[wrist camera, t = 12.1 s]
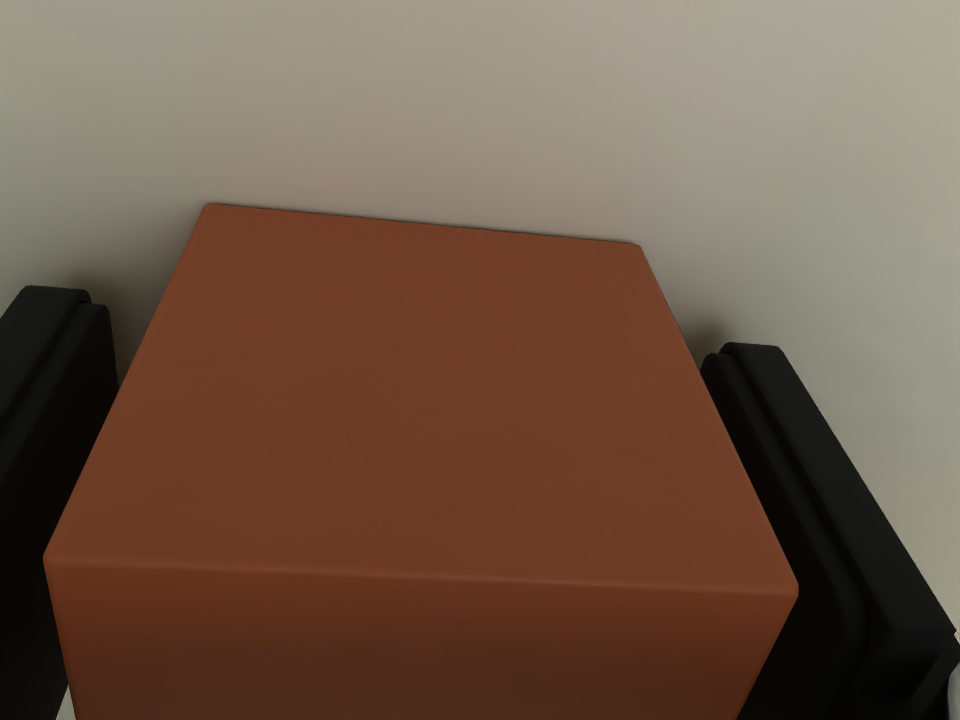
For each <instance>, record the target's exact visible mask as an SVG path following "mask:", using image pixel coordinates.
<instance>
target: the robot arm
mask: <svg viewBox="0 0 960 720" xmlns="http://www.w3.org/2000/svg"><path fill="white" fill-rule="evenodd" d="M699 372H700V375H701V377H702V379H703V381H704V383H705V385H706V387H707V390H708V392H709V394H710V396H711V398H712V400H713V402H714V405H715V407H716V409H717V411H718V413H719V415H720V417H721V419H722V422H723V424H724V426H725V428H726V430H727V432H728V434H729V437H730V439H731V441H732V443H733V445H734V447H735V449H736V452H737V454H738V456H739V458H740V460H741V462H742V464H743V467H744V469H745V471H746V473H747V475H748V477H749V479H750V482H751V484H752V486H753V488H754V490H755V492H756V494H757V497H758V499H759V501H760V503H761V505H762V507H763V509H764V511H765V514H766V516H767V518H768V520H769V522H770V524H771V526H772V529H773V531H774V533H775V535H776V537H777V539H778V541H779V544H780V546H781V548H782V550H783V552H784V554H785V556H786V559H787V561H788V563H789V565H790V567H791V569H792V571H793V574H794V576H795V578H796V580H797V582H798V588H799V593H798V598H797V600H796V602H795V604H794V606H793V608H792V609H791V611H790V613H789V615H788V617H787V619H786V621H785V623H784V625H783V627H782V629H781V631H780V633H779V635H778V637H777V639H776V641H775V643H774V645H773V647H772V649H771V651H770V653H769V655H768V657H767V659H766V661H765V663H764V665H763V667H762V669H761V671H760V673H759V675H758V677H757V679H756V681H755V683H754V685H753V687H752V689H751V691H750V693H749V695H748V697H747V699H746V701H745V703H744V705H743V707H742V709H741V711H740V713H739V714H738V716H737V718H736V720H960V644H959V643H958V641H957V639H956V638H955V636H954V634H955V632H956V631H957V630H956V629H955V627H954V626H953V624H952V622H951V621H950V619H949V618H948V616H947V614H946V613H945V611H944V610H943V608H942V606H941V605H940V603H939V602H938V600H937V598H936V597H935V595H934V594H933V592H932V590H931V589H930V587H929V586H928V584H927V582H926V581H925V579H924V578H923V576H922V574H921V573H920V571H919V569H918V568H917V566H916V565H915V563H914V561H913V560H912V558H911V557H910V555H909V553H908V552H907V550H906V549H905V547H904V545H903V544H902V542H901V541H900V539H899V537H898V536H897V534H896V533H895V531H894V529H893V528H892V526H891V525H890V523H889V521H888V520H887V518H886V517H885V515H884V513H883V512H882V510H881V509H880V507H879V505H878V504H877V502H876V501H875V499H874V497H873V496H872V494H871V492H870V491H869V489H868V488H867V486H866V484H865V483H864V481H863V480H862V478H861V476H860V475H859V473H858V472H857V470H856V468H855V467H854V465H853V464H852V462H851V460H850V459H849V457H848V456H847V454H846V452H845V451H844V449H843V448H842V446H841V444H840V443H839V441H838V440H837V438H836V436H835V435H834V433H833V432H832V430H831V428H830V427H829V425H828V423H827V422H826V420H825V419H824V417H823V415H822V414H821V412H820V411H819V409H818V407H817V406H816V404H815V403H814V401H813V399H812V398H811V396H810V395H809V393H808V391H807V390H806V388H805V387H804V385H803V383H802V382H801V380H800V379H799V377H798V375H797V374H796V372H795V371H794V369H793V367H792V366H791V364H790V363H789V361H788V359H787V358H786V356H785V355H784V353H783V351H782V350H781V349H780V348H779V347H777V346H772V345H760V344H748V343H735V342H728V343H726V344H724V346H723V347H722V348H721V349H720V351H719V353H718V354H717V353H710V354H708V355H707V356H706V357H705V359H704V361H703V363H702V366H701V368H700V371H699ZM118 392H119V386H118V377H117V369H116V361H115V352H114V344H113V335H112V327H111V319H110V313H109V310H108V308H107V307H106V306H105V305H100V304H92V300H91V298H90V295H89V293H88V292H87V291H86V290H84V289H71V288H59V287H47V286H34V285H29V286H25V287H24V288H23V289H22V290H21V291H20V292H19V294H18V295H17V297H16V298H15V299H14V301H13V302H12V303H11V305H10V306H9V308H8V309H7V310H6V312H5V313H4V314H3V316H2V317H1V318H0V720H55V719H56V717H57V714H58V711H59V709H60V706H61V703H62V700H63V698H64V695H65V692H66V690H67V687H68V679H67V674H66V669H65V664H64V660H63V655H62V650H61V645H60V640H59V636H58V631H57V626H56V621H55V616H54V611H53V607H52V602H51V597H50V592H49V587H48V583H47V578H46V573H45V568H44V563H43V555H44V553H45V550H46V548H47V546H48V544H49V542H50V539H51V537H52V535H53V533H54V531H55V528H56V526H57V524H58V522H59V520H60V518H61V515H62V513H63V511H64V509H65V507H66V505H67V502H68V500H69V498H70V496H71V494H72V492H73V489H74V487H75V485H76V483H77V481H78V479H79V476H80V474H81V472H82V470H83V468H84V466H85V463H86V461H87V459H88V457H89V455H90V453H91V450H92V448H93V446H94V444H95V442H96V440H97V437H98V435H99V433H100V431H101V429H102V426H103V424H104V422H105V420H106V418H107V416H108V413H109V411H110V409H111V407H112V405H113V403H114V400H115V398H116V396H117V394H118Z"/></svg>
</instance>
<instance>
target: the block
mask: <svg viewBox="0 0 960 720" xmlns="http://www.w3.org/2000/svg"><path fill="white" fill-rule="evenodd" d="M43 563H44V568H45V573H46V578H47V583H48V587H49V592H50V597H51V602H52V607H53V611H54V616H55V621H56V626H57V631H58V636H59V640H60V645H61V650H62V655H63V660H64V664H65V669H66V674H67V679H68V684H69V689H70V693H71V698H72V703H73V708H74V713H75V718H76V720H736V718H737V716H738V714H739V713H740V711H741V709H742V707H743V705H744V703H745V701H746V699H747V697H748V695H749V693H750V691H751V689H752V687H753V685H754V683H755V681H756V679H757V677H758V675H759V673H760V671H761V669H762V667H763V665H764V663H765V661H766V659H767V657H768V655H769V653H770V651H771V649H772V647H773V645H774V643H775V641H776V639H777V637H778V635H779V633H780V631H781V629H782V627H783V625H784V623H785V621H786V619H787V617H788V615H789V613H790V611H791V609H792V608H793V606H794V604H795V602H796V600H797V598H798V593H799V588H798V582H797V580H796V578H795V576H794V574H793V571H792V569H791V567H790V565H789V563H788V561H787V559H786V556H785V554H784V552H783V550H782V548H781V546H780V544H779V541H778V539H777V537H776V535H775V533H774V531H773V529H772V526H771V524H770V522H769V520H768V518H767V516H766V514H765V511H764V509H763V507H762V505H761V503H760V501H759V499H758V497H757V494H756V492H755V490H754V488H753V486H752V484H751V482H750V479H749V477H748V475H747V473H746V471H745V469H744V467H743V464H742V462H741V460H740V458H739V456H738V454H737V452H736V449H735V447H734V445H733V443H732V441H731V439H730V437H729V434H728V432H727V430H726V428H725V426H724V424H723V422H722V419H721V417H720V415H719V413H718V411H717V409H716V407H715V405H714V402H713V400H712V398H711V396H710V394H709V392H708V390H707V387H706V385H705V383H704V381H703V379H702V377H701V375H700V372H699V370H698V368H697V366H696V364H695V362H694V360H693V357H692V355H691V353H690V351H689V349H688V347H687V345H686V342H685V340H684V338H683V336H682V334H681V332H680V330H679V328H678V325H677V323H676V321H675V319H674V317H673V315H672V313H671V310H670V308H669V306H668V304H667V302H666V300H665V298H664V295H663V293H662V291H661V289H660V287H659V285H658V283H657V280H656V278H655V276H654V274H653V272H652V270H651V268H650V265H649V263H648V261H647V259H646V257H645V255H644V253H643V251H642V248H641V247H640V246H638V245H636V244H627V243H616V242H606V241H595V240H585V239H574V238H564V237H553V236H543V235H532V234H522V233H511V232H501V231H490V230H480V229H469V228H459V227H449V226H438V225H428V224H417V223H407V222H396V221H386V220H375V219H365V218H354V217H344V216H333V215H323V214H312V213H302V212H291V211H281V210H270V209H260V208H249V207H239V206H228V205H218V204H207V205H205V206H204V207H203V209H202V212H201V214H200V216H199V218H198V220H197V222H196V225H195V227H194V229H193V231H192V233H191V236H190V238H189V240H188V242H187V244H186V246H185V249H184V251H183V253H182V255H181V257H180V259H179V262H178V264H177V266H176V268H175V270H174V272H173V275H172V277H171V279H170V281H169V283H168V285H167V288H166V290H165V292H164V294H163V296H162V298H161V301H160V303H159V305H158V307H157V309H156V311H155V314H154V316H153V318H152V320H151V322H150V324H149V327H148V329H147V331H146V333H145V335H144V338H143V340H142V342H141V344H140V346H139V348H138V351H137V353H136V355H135V357H134V359H133V361H132V364H131V366H130V368H129V370H128V372H127V374H126V377H125V379H124V381H123V383H122V385H121V387H120V390H119V392H118V394H117V396H116V398H115V400H114V403H113V405H112V407H111V409H110V411H109V413H108V416H107V418H106V420H105V422H104V424H103V426H102V429H101V431H100V433H99V435H98V437H97V440H96V442H95V444H94V446H93V448H92V450H91V453H90V455H89V457H88V459H87V461H86V463H85V466H84V468H83V470H82V472H81V474H80V476H79V479H78V481H77V483H76V485H75V487H74V489H73V492H72V494H71V496H70V498H69V500H68V502H67V505H66V507H65V509H64V511H63V513H62V515H61V518H60V520H59V522H58V524H57V526H56V528H55V531H54V533H53V535H52V537H51V539H50V542H49V544H48V546H47V548H46V550H45V553H44V555H43Z"/></svg>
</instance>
